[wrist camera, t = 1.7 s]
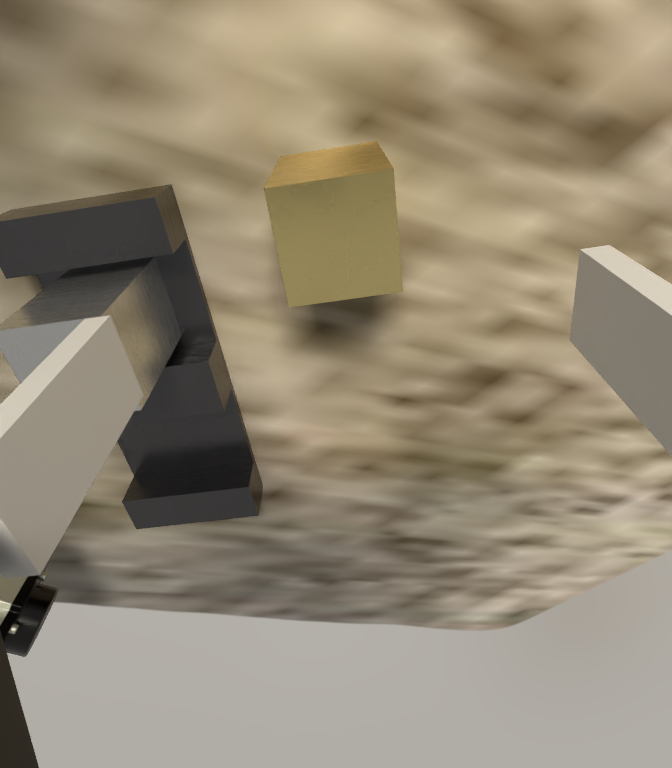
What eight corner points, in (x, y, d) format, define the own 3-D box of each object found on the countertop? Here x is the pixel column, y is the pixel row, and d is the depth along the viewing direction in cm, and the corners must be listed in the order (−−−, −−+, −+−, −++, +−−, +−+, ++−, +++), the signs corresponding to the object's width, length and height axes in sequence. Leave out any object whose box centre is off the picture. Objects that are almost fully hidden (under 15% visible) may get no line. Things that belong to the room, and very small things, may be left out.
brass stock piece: (280, 156, 26) (264, 188, 19) (376, 141, 26) (393, 168, 19) (298, 250, 29) (288, 307, 22) (385, 237, 28) (403, 291, 22)
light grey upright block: (70, 269, 29) (-10, 331, 22) (154, 256, 28) (100, 316, 22) (104, 345, 31) (42, 422, 25) (181, 335, 31) (141, 410, 24)
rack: (10, 209, 27) (-22, 224, 25) (171, 184, 27) (155, 197, 24) (148, 499, 39) (136, 529, 36) (262, 485, 38) (258, 515, 36)
